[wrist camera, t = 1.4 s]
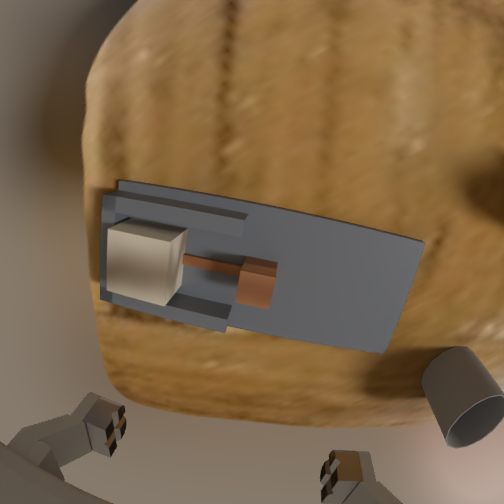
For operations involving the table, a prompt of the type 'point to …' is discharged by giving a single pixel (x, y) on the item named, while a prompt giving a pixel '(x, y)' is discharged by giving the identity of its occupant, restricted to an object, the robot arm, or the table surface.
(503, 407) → the cup
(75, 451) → the robot arm
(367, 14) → the table surface
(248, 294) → the block
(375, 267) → the grey slider tray
